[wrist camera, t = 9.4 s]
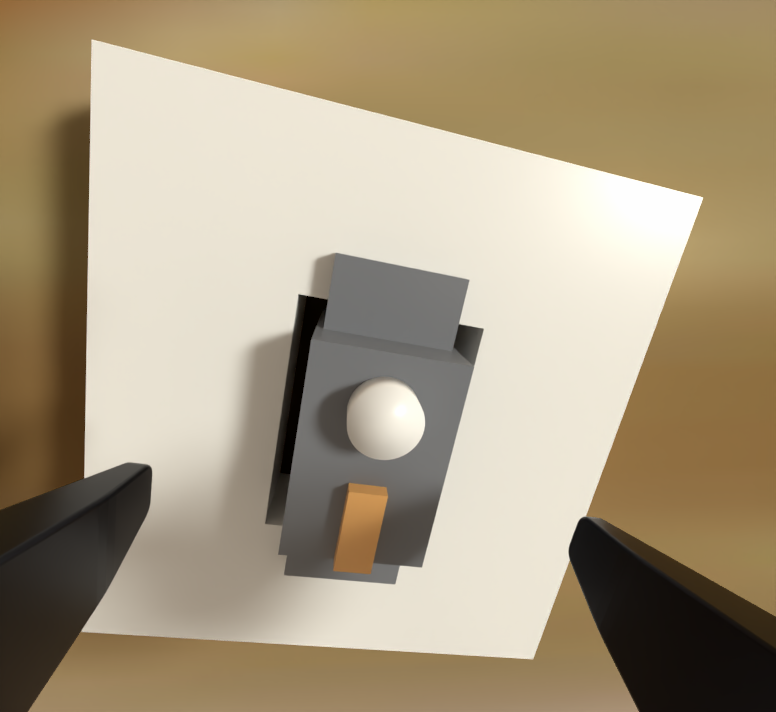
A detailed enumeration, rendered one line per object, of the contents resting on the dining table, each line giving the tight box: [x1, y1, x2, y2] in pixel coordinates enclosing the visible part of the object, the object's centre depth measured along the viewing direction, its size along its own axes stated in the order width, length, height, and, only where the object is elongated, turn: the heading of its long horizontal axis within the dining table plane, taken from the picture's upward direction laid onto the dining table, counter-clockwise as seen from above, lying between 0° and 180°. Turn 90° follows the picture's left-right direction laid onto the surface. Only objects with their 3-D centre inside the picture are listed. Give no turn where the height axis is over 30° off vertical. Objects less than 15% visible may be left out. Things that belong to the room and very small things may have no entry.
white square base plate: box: [82, 40, 703, 659], centre depth 14 cm, size 17×16×3 cm
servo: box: [278, 253, 474, 584], centre depth 12 cm, size 10×4×6 cm, turn 169°
